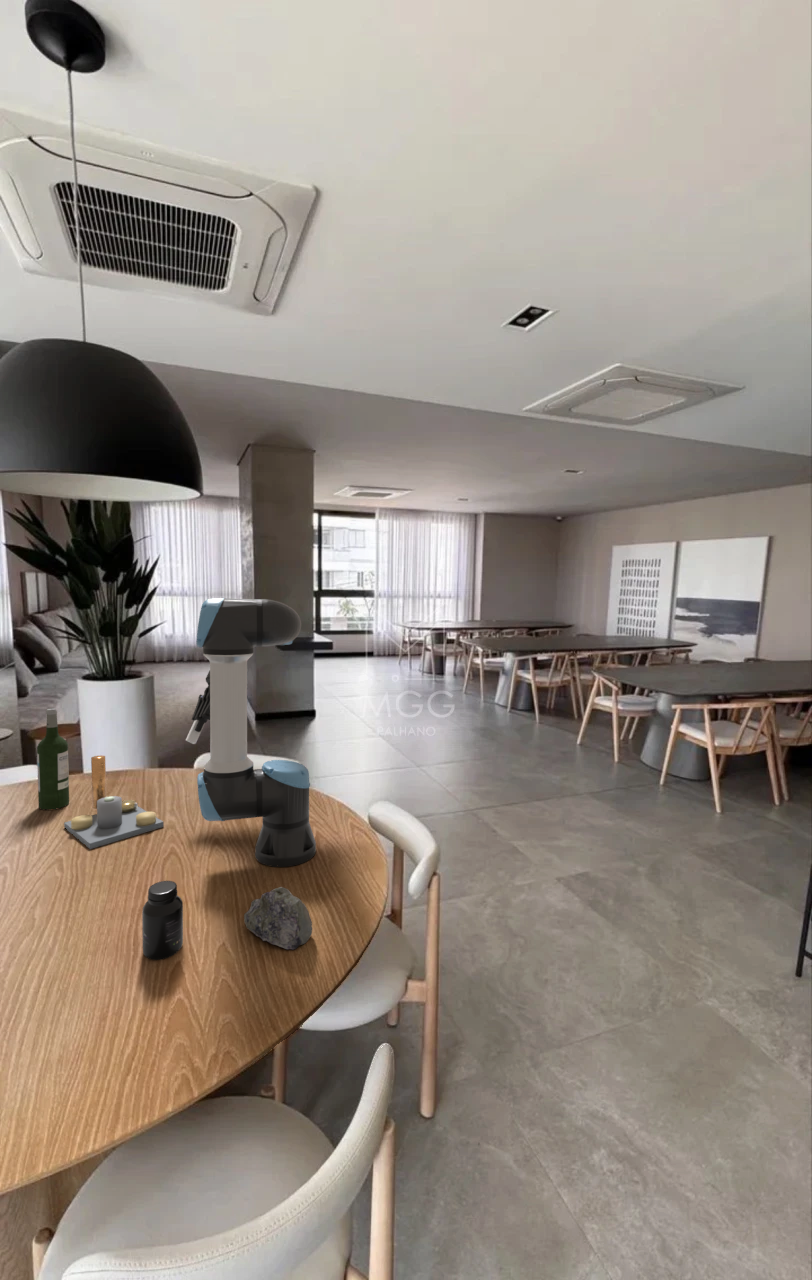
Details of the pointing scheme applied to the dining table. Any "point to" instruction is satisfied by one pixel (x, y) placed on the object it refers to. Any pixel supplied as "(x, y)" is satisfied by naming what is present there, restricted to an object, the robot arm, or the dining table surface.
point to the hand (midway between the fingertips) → (190, 741)
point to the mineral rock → (279, 919)
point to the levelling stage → (114, 833)
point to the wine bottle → (52, 766)
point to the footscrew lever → (104, 784)
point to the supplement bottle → (162, 921)
